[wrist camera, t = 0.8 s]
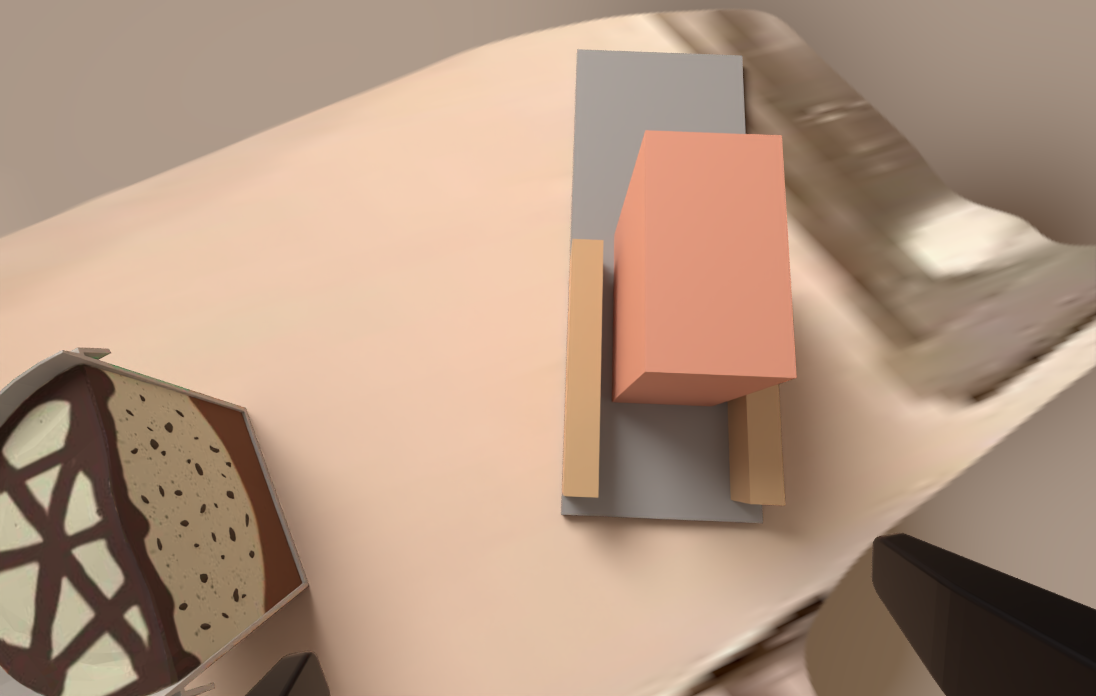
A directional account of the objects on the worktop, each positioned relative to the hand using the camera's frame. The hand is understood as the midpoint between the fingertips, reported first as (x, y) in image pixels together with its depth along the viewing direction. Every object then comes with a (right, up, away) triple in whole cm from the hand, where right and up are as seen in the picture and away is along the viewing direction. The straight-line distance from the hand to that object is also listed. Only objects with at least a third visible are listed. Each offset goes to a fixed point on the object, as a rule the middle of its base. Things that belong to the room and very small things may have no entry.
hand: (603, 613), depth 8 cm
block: (+5, +6, +19) cm, 20 cm away
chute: (+5, +9, +20) cm, 22 cm away
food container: (-17, -4, +17) cm, 25 cm away
